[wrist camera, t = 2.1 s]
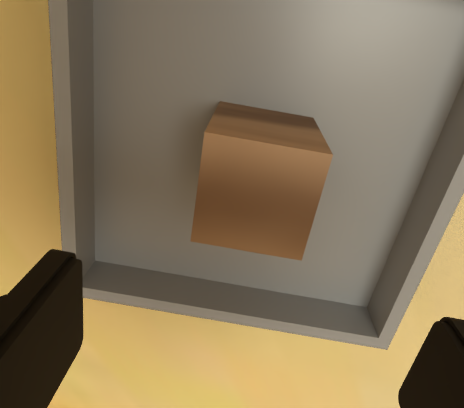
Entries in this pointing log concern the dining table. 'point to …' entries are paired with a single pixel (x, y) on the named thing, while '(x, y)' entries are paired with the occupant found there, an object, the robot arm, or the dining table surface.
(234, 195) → the walnut block
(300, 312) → the grey bin
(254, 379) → the dining table surface
